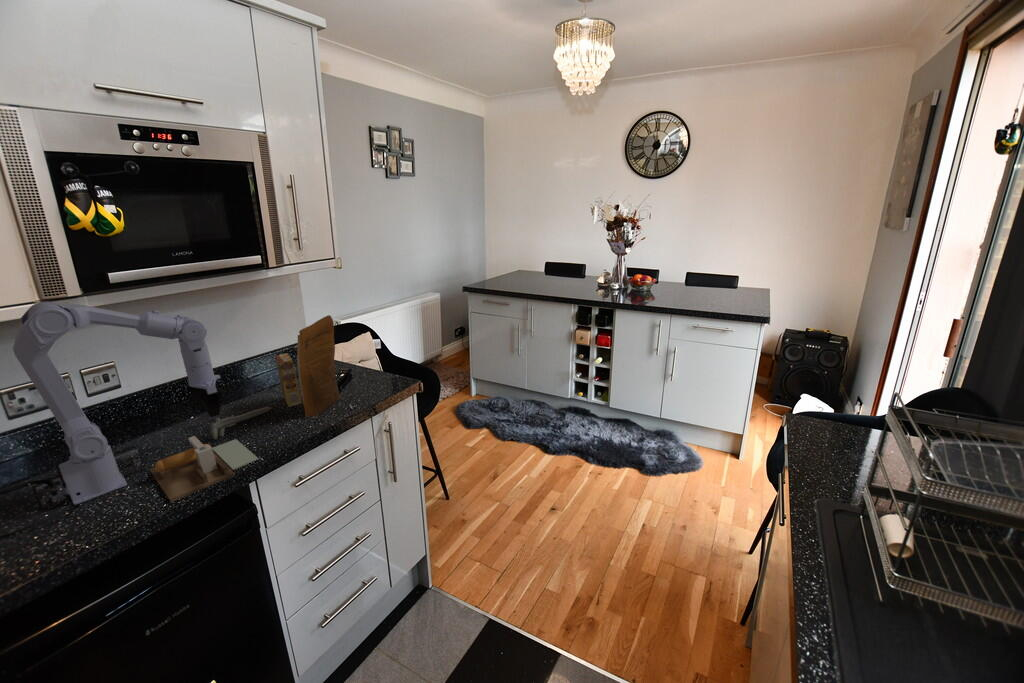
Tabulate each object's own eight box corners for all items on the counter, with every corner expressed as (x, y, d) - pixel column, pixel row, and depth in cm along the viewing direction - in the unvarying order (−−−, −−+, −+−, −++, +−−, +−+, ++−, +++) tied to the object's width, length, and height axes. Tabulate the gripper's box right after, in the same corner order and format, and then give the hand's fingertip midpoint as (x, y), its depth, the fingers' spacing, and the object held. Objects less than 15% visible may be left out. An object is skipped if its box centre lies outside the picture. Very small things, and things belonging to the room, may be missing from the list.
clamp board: (170, 502, 102) (167, 492, 102) (150, 471, 115) (147, 462, 114) (234, 475, 111) (232, 466, 111) (209, 449, 124) (206, 441, 123)
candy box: (302, 403, 149) (293, 359, 145) (288, 407, 147) (278, 362, 142) (296, 395, 156) (287, 352, 152) (282, 398, 154) (273, 355, 149)
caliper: (216, 441, 129) (211, 421, 127) (213, 441, 129) (208, 420, 127) (272, 409, 147) (268, 391, 145) (270, 409, 147) (266, 390, 145)
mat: (233, 470, 113) (232, 469, 113) (212, 449, 124) (211, 448, 124) (258, 460, 118) (258, 458, 117) (236, 440, 128) (235, 438, 128)
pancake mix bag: (352, 394, 155) (339, 313, 146) (315, 421, 137) (297, 331, 129) (335, 393, 156) (321, 313, 148) (296, 419, 139) (278, 330, 130)
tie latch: (203, 474, 111) (197, 453, 109) (190, 458, 118) (184, 439, 116) (217, 468, 113) (212, 448, 111) (203, 453, 120) (198, 434, 118)
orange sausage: (158, 476, 110) (155, 465, 109) (155, 471, 112) (152, 460, 111) (215, 454, 118) (212, 444, 117) (211, 450, 120) (208, 440, 119)
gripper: (224, 365, 117) (236, 413, 122) (206, 354, 127) (218, 399, 131) (192, 373, 113) (205, 423, 117) (176, 361, 122) (189, 408, 126)
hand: (210, 411), depth 123 cm, fingers open, 7 cm apart
